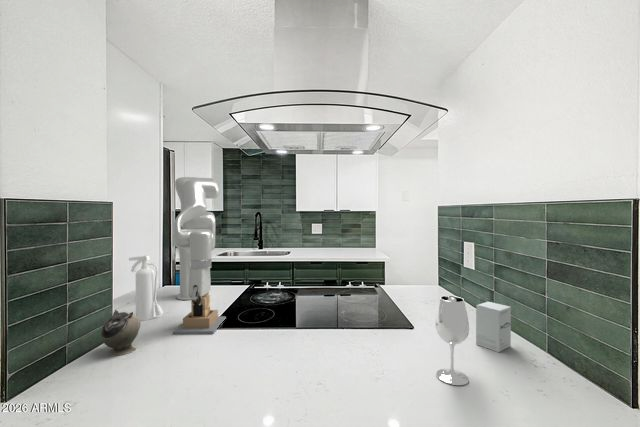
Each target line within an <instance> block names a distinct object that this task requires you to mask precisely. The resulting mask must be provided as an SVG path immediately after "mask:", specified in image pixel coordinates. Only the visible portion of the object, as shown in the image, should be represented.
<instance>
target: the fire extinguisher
mask: <svg viewBox="0 0 640 427" xmlns="http://www.w3.org/2000/svg"><path fill="white" fill-rule="evenodd" d="M150 260H151V259H150V255H149V254H148V255H140V256H139V255H138V256H131V257H128V261H136V262H134V264H133V265H132V266H131V270H130V271H131V272H132V273H135V315H136V316H137V317H138V319H139V321H140V322H141V321H149V320H152V319H155V317H158V316H161V315H163V314H164V311H163V309H162V308H161V306H160V304H158V301H157V291H158V288H157V287H158V286H157V285H158V277H159V267H158V264H156V263H154V262H152V261H151V262H150ZM140 264H141V267H140V268H141V269H138V266H140ZM150 266H153V267H155V271H154V269H152V268H150ZM137 269H138V270H137Z"/></svg>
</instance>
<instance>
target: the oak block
mask: <svg viewBox="0 0 640 427" xmlns="http://www.w3.org/2000/svg"><path fill="white" fill-rule="evenodd" d="M197 296H199V295H197ZM197 299H198V300H199V298H197ZM190 302H191V307H190V308H191V311H190V312H191V317H208V316H209V315H210V310H211V294H208V295H204V296H202V304H201V305H203V315H202V316H193V302H192V300H190Z"/></svg>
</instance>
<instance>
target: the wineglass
mask: <svg viewBox="0 0 640 427" xmlns="http://www.w3.org/2000/svg"><path fill="white" fill-rule="evenodd" d="M468 317H469V316H468V311H467V307H466V302H465V300H464V298H462V297H459V296H455V295H454V296H453V295H442V296H440V299H439V302H438V306H437V311H436V317H435V330H436V333H437V335H438V336H439V338H441V340H443V341H444V342H445V343H446V344H449V349H450V367H449V368H441V369H438V370H437V371H436V373H435V375H436V377H437V378H438V380H440V381H441V382H443V383H446V384H448V385H452V386H464V385H467V384H468V383H469V377H468V376H467V375H466V374H465V373H463V372H461V371H459V370H457V369H455V368H454V362H455V359H454V357H455V356H454V354H455V352H454V350H455V346H456V345H460V344H463V342H465V341H466V340H467V338H468V336H469V334H470V324H469V323H470V322H469V318H468Z"/></svg>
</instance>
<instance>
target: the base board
mask: <svg viewBox="0 0 640 427" xmlns="http://www.w3.org/2000/svg"><path fill="white" fill-rule="evenodd" d="M225 319H226V320H227V316H225V315H224V316H223V315H221V316H219V309H210V315H209V316H208V317H191V311H190V312H189V313H188V314H187V315H184V317H183V318H182V323H181V324H180V325H179V326H177V327H176V328H175V329H174V330H172V335H214V334H215V333H216V332H217V330H218V329H219V328H220V327H219V325H220V324H221V323H222V322H223V321H224V320H225ZM226 320H225V321H226ZM225 321H224V322H225ZM224 322H223V323H224ZM223 323H222V324H223ZM222 324H221V325H222ZM218 327H219V328H218ZM217 328H218V329H217Z"/></svg>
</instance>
